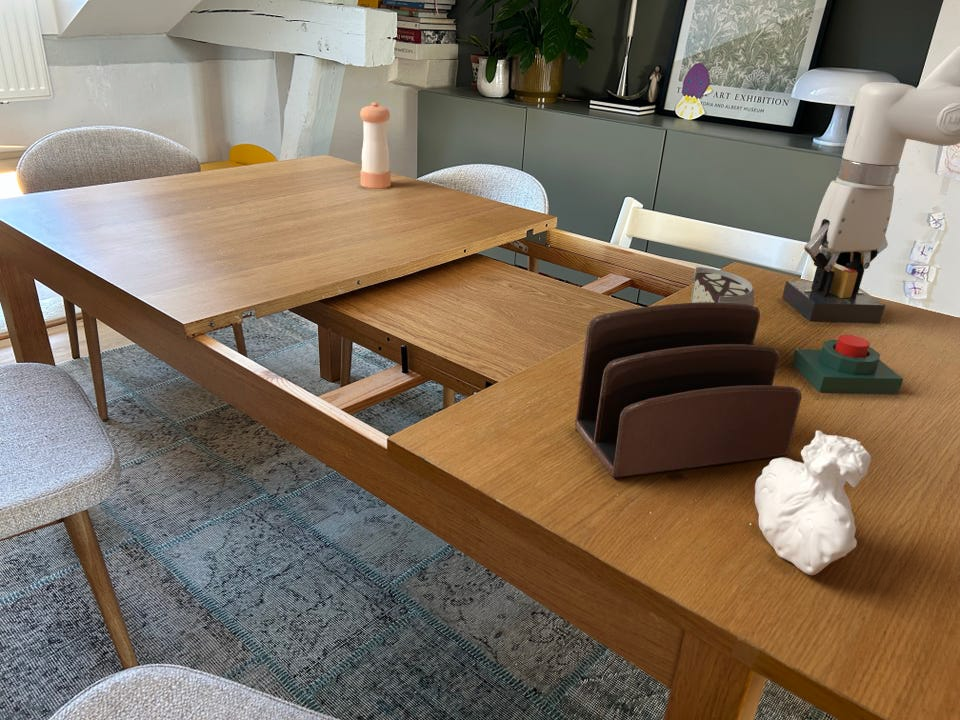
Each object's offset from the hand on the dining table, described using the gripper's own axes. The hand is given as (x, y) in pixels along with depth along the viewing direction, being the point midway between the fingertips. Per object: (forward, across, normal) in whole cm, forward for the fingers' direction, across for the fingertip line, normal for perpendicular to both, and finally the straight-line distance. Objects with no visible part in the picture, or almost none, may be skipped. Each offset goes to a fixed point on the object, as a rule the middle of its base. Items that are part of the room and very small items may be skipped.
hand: (834, 290), depth 114 cm
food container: (+3, +28, +10) cm, 30 cm away
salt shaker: (+3, +55, -93) cm, 108 cm away
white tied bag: (+3, +43, +46) cm, 63 cm away
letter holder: (+3, +45, +29) cm, 54 cm away
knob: (0, 0, 0) cm, 0 cm away
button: (0, +16, +21) cm, 26 cm away
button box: (+3, +16, +21) cm, 26 cm away
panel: (+3, 0, 0) cm, 3 cm away
